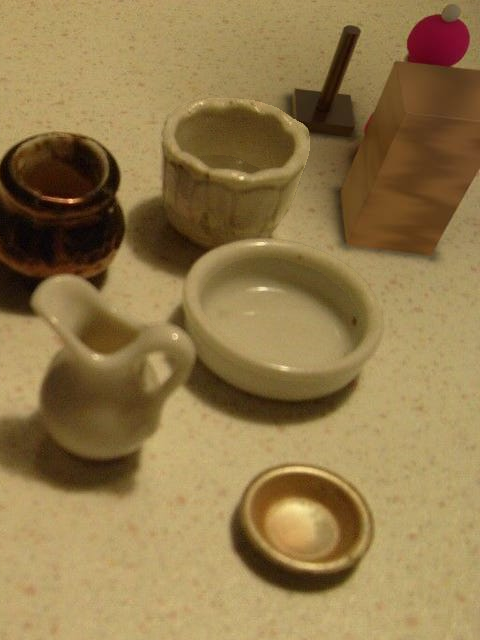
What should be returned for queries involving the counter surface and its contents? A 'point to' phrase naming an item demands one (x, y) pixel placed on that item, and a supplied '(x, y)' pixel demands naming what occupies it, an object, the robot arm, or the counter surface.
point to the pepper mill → (437, 40)
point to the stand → (329, 94)
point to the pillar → (414, 159)
